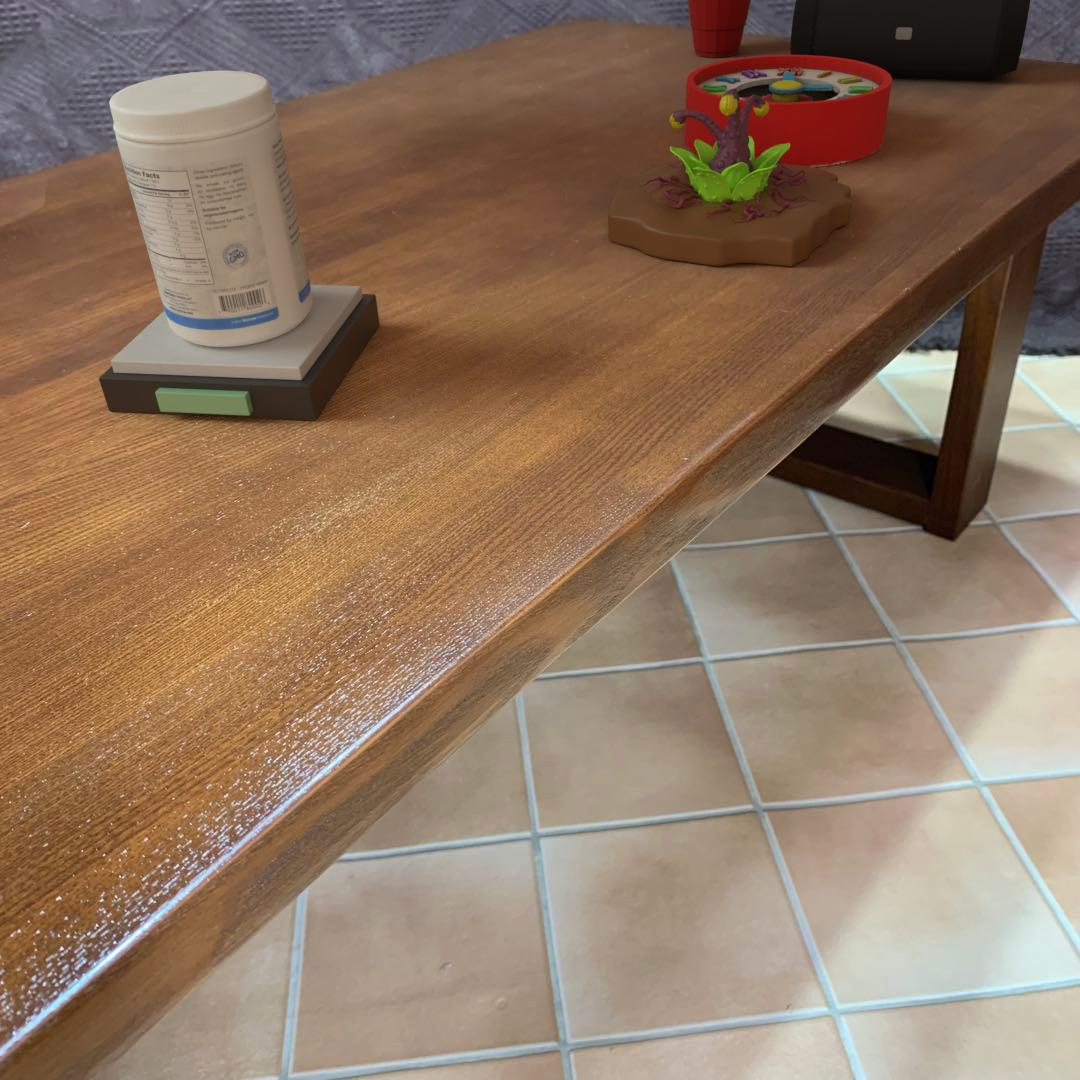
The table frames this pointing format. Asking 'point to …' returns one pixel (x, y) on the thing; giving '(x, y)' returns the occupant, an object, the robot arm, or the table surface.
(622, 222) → the plant
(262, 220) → the supplement tub
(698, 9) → the plastic cup
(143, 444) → the table surface
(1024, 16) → the portable speaker
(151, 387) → the scale
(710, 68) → the toy clock
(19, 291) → the table surface
